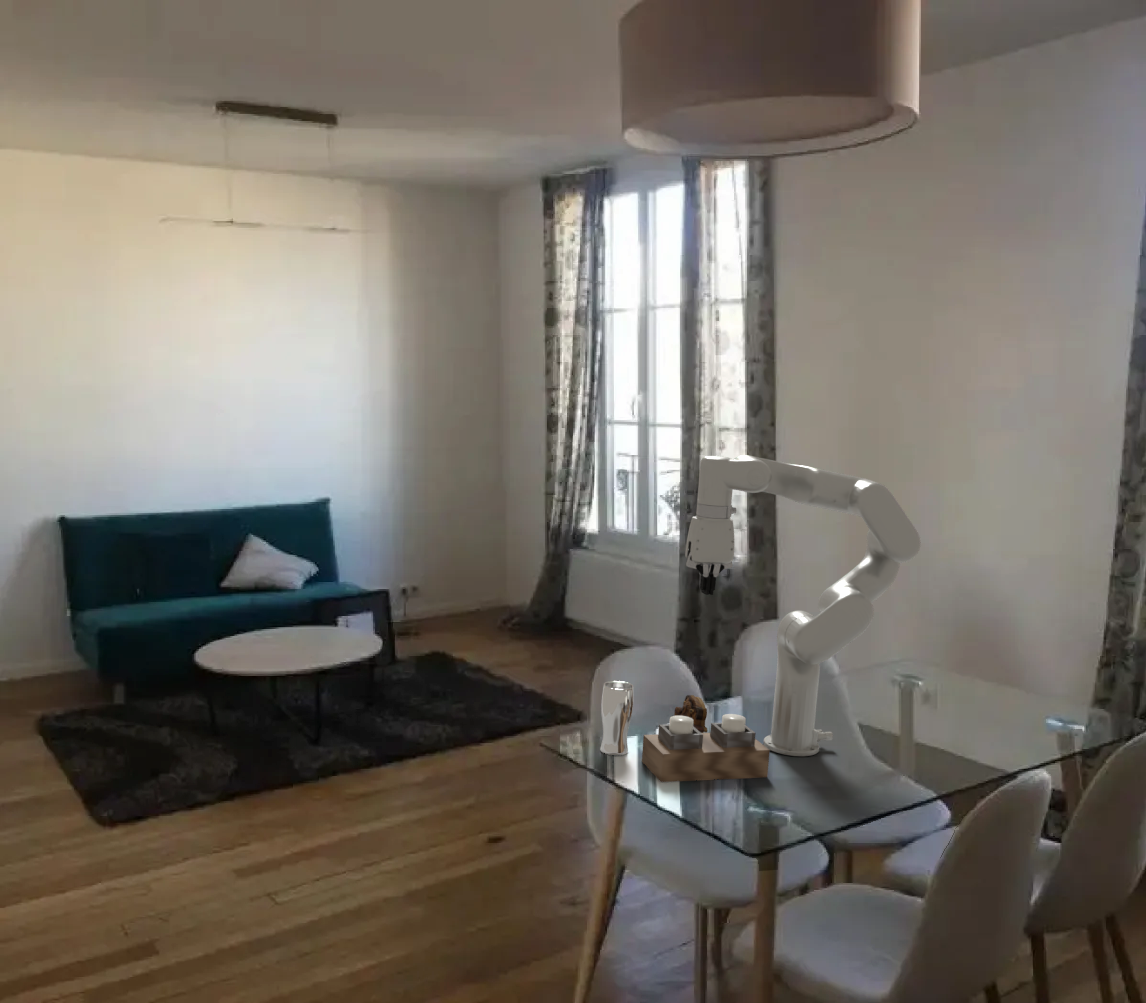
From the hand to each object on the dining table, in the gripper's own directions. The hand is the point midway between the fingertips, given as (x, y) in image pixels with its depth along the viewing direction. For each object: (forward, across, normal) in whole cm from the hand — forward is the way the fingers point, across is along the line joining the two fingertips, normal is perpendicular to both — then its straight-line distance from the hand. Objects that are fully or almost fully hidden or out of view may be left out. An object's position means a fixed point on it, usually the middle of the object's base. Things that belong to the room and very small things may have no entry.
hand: (707, 593), depth 264 cm
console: (+35, +4, +15) cm, 38 cm away
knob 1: (+29, +10, +15) cm, 34 cm away
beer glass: (+35, +20, +2) cm, 41 cm away
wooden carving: (+35, 0, -4) cm, 36 cm away
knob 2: (+29, -2, +15) cm, 33 cm away
